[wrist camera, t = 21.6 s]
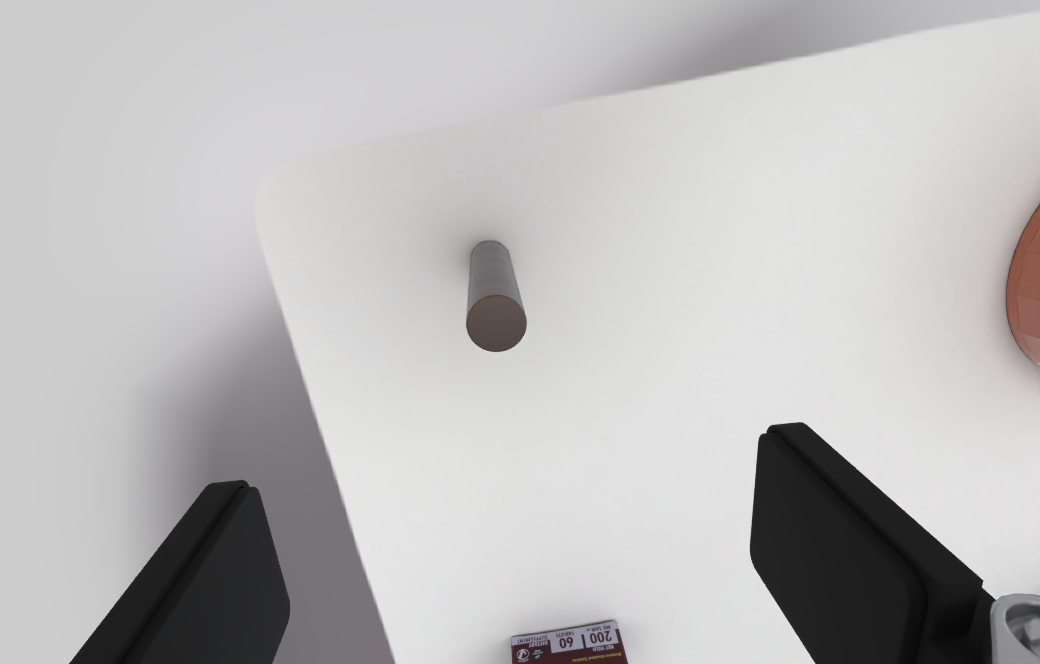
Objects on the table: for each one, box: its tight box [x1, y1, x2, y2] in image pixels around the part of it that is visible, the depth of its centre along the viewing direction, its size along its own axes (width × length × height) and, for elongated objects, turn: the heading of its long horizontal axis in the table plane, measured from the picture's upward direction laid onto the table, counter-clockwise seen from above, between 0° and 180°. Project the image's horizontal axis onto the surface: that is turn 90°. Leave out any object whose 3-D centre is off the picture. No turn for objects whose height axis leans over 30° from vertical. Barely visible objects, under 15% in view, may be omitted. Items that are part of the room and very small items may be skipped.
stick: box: [466, 240, 527, 352], centre depth 28 cm, size 2×2×12 cm
